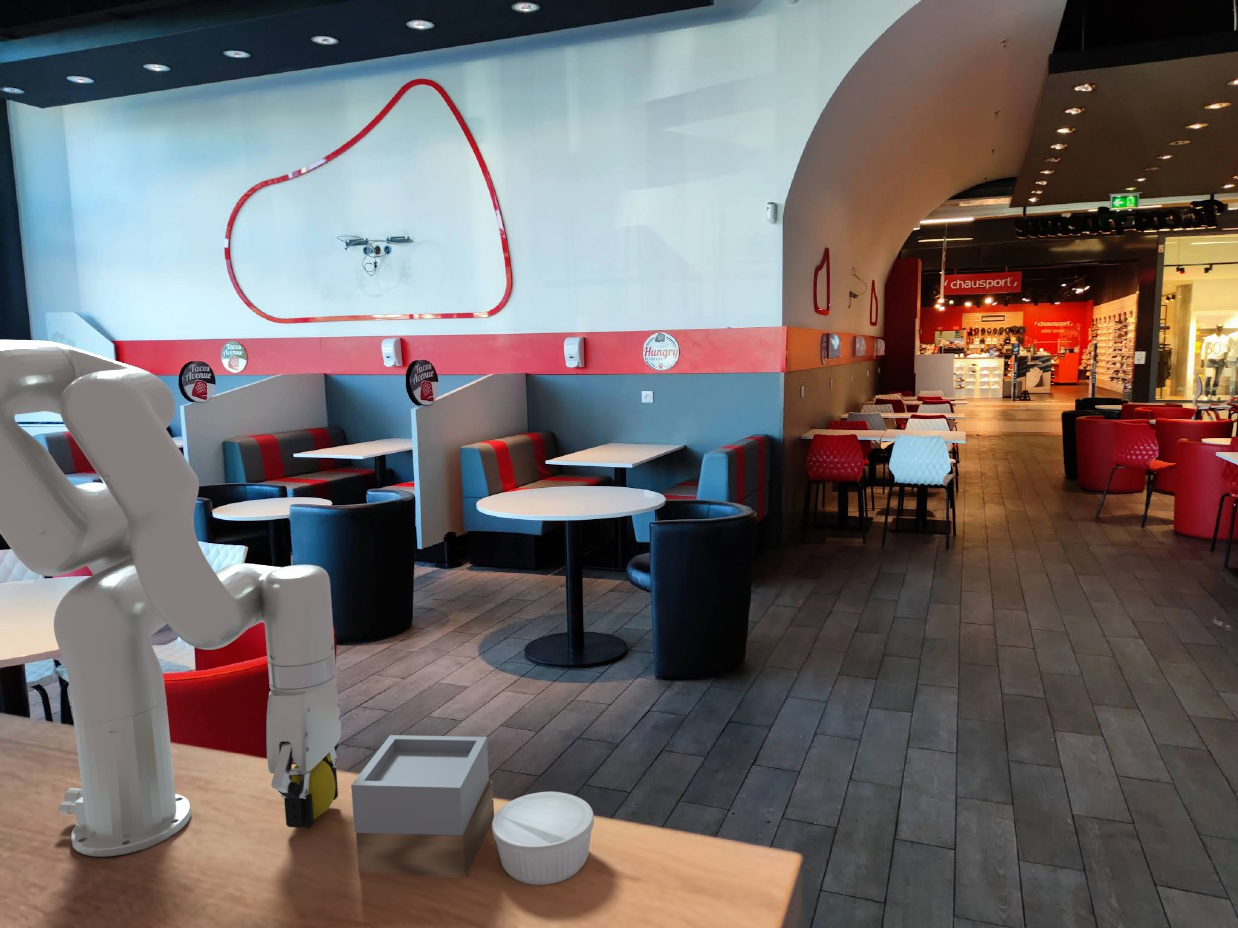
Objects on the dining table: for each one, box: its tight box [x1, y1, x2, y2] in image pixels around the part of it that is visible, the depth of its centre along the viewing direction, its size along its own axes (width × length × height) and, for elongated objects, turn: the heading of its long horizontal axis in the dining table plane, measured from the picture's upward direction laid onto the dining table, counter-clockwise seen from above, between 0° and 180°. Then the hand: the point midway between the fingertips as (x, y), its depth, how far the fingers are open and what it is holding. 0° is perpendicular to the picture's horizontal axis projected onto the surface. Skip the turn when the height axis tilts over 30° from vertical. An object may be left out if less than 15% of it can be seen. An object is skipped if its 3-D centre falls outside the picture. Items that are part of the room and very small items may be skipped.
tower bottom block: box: [355, 780, 495, 879], centre depth 99 cm, size 12×12×5 cm
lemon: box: [291, 760, 335, 820], centre depth 104 cm, size 6×6×8 cm
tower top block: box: [350, 734, 490, 836], centre depth 98 cm, size 12×12×6 cm
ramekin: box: [491, 791, 595, 886], centre depth 95 cm, size 11×11×5 cm
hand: (313, 810), depth 105 cm, fingers closed on lemon, 5 cm apart
